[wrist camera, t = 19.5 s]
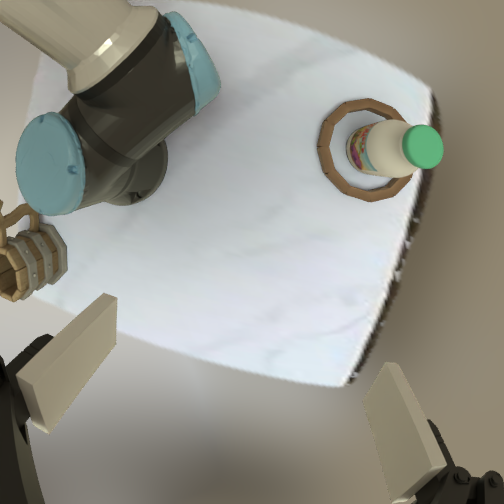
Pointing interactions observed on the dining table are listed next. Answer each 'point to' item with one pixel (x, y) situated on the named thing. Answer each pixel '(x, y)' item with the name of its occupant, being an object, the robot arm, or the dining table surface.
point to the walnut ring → (327, 160)
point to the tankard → (29, 255)
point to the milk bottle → (394, 148)
